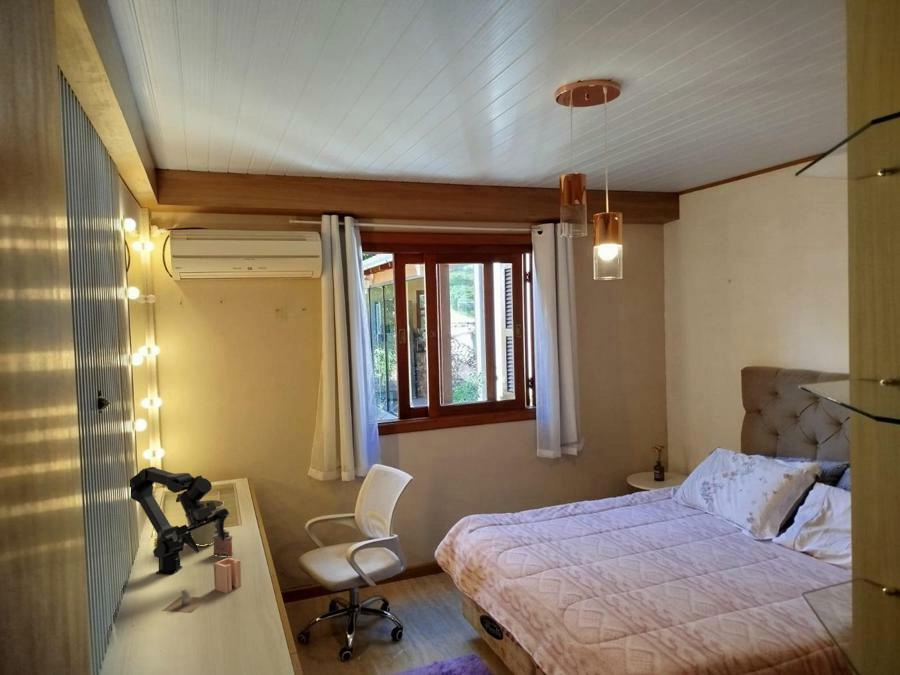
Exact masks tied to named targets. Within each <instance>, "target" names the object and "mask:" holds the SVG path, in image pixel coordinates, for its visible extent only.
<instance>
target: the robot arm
mask: <svg viewBox="0 0 900 675" xmlns="http://www.w3.org/2000/svg"><path fill="white" fill-rule="evenodd" d="M129 480H130V487H131V497H130V499H132V500H133V501H135V502H138V503H139V504H140V506H141V508H142V510H143V511H144V513H145V514H146V517H147V518H148V520H149V522H150V524H151V525H152V527H153V529H154V530H155V532H156V534H157V535H156V536H157V537H156V544H157V545H156V547H155V548H154V549H153V551H152V553H153V556H154V557H155V558H156V559H157V558H158V570H157V571H156V572H155V573H163V574H162V575H174V574H175V573H176V572H178V571H179V570H181V569H182V568H183V565H181V557H180V553H181V552H184V547H185V545H186V546H188V547H189V548H190V549H192V550H194V551H195V552H196V554H197V553H198V554H199V552H200V550H199V546H197V545H196V543H195V542H194V540H193V537H192V535H191V532H190V531H193V530H195V529H197V528H200V527H202V526H204V525H207V524H209V523H211V522H214V523H216V524H215V527H216V530H217V532H218V534H219V536H220V538H221V539H222V541H224V540H225V538H224V529H225V527H224V523H225V521H226V519H227V518H228V516H230V512H229V510H228V509H227V508H225V507H224V508H223V509H221V510H219V511H216V512H215V513H214V515H213V516H212V517H209V516H210V515H212V511H214V510H216V506H215V504H214V502H213V501H211V502H209V503H207V506H204V505H203V503H202V504H201V502H200V501H201V500H202V499H203V498H204V497H206V495H207V494H209V492H211V490H212V483H211V481H209V479H207V478H204V477H203V476H202V475H197V476H196V477H194V476H192V474H190V473H189V472H180V473H179V472H178V473H173V472H170V471H166V470H164V469H160V468H157V467H155V466H150V467H147V468H142V469H141V470H140V471H139V472H138V473H137V474H135V475H134V476H133V477H131V478H130V479H129ZM155 483H157V484H159V485H163V486H166V489H167V490H168V491H170V492H172V493H173V494H177V493H178V494H177V495H176V496H177V497H176V498H175V502H176V503H180V504H181V507H182V509H183V511H184V512H185V518H187V517H188V519H189V522H190V526H189V525H188V526H187V524H183V525H181V526H178V525H175V526H174V525H173V526H172V525H171V524H170V522H169V520H168V519H167V517H166V515H165V514H164V512H163V510H162V509H161V506H160V505H159V503H158V501H157V500H156V498H155V497H154V495H153V493H154V492H153V491H154V486H153V485H154V484H155ZM180 492H181V493H180ZM208 517H209V518H208ZM204 522H205V523H204ZM197 525H198V526H197ZM181 567H182V568H181ZM180 568H181V569H180ZM178 569H179V570H178ZM177 570H178V571H177ZM175 571H176V572H175ZM174 572H175V573H174Z"/></svg>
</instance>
